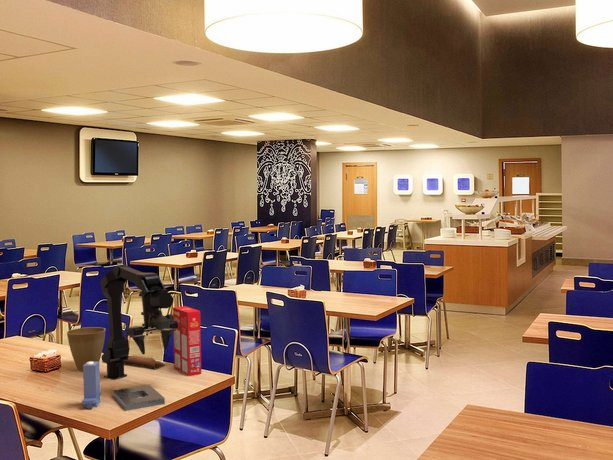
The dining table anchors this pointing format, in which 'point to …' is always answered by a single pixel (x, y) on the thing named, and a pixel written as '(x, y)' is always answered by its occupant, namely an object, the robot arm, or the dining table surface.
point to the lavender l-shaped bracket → (91, 384)
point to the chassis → (130, 402)
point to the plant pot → (86, 345)
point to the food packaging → (187, 341)
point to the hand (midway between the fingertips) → (154, 351)
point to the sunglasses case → (144, 362)
